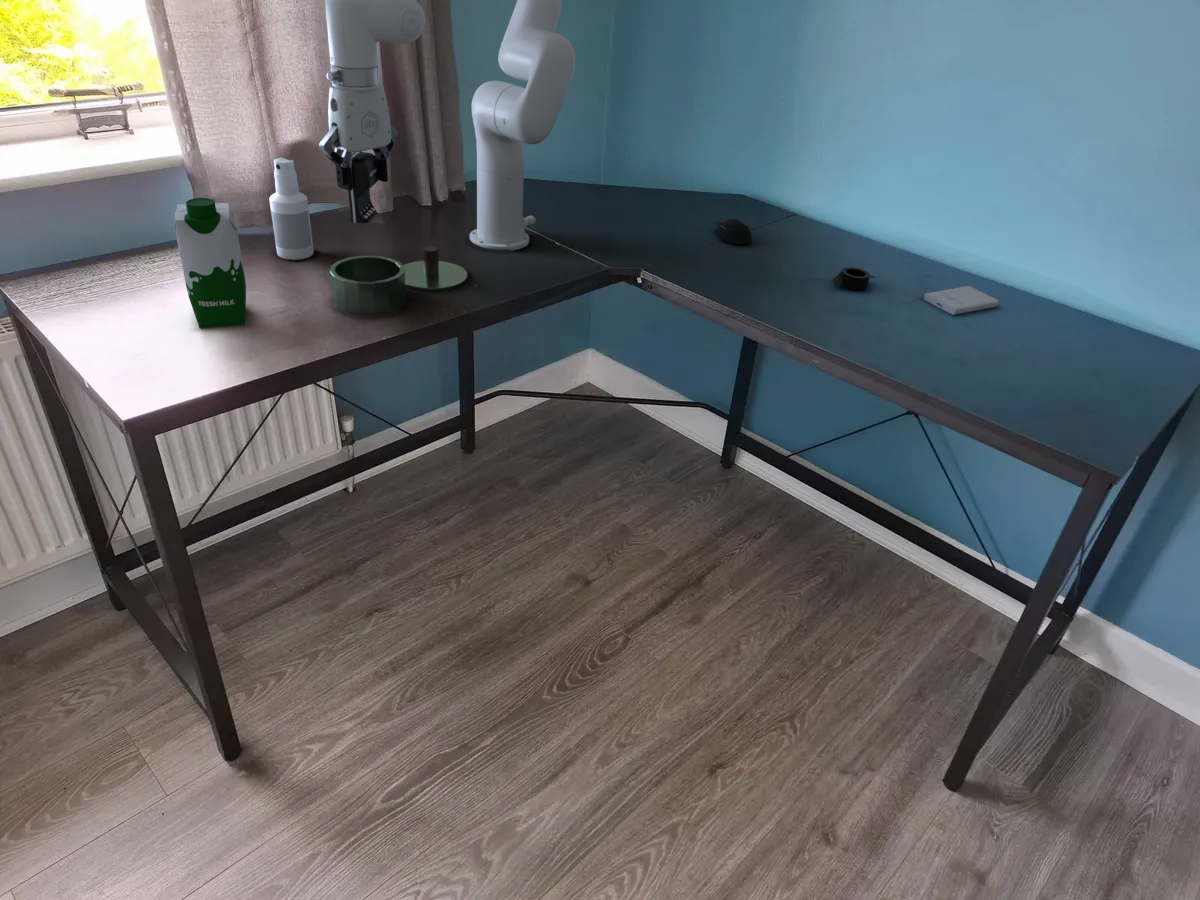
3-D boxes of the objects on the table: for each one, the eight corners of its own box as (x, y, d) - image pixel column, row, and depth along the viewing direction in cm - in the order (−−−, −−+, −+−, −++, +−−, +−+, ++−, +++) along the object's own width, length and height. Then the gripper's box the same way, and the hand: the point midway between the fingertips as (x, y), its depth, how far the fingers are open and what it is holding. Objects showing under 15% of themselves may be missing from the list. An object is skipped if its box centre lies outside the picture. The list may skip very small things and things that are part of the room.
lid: (431, 261, 166) (430, 230, 163) (481, 280, 160) (482, 249, 157) (380, 279, 157) (377, 247, 153) (431, 300, 151) (430, 267, 147)
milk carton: (193, 331, 134) (167, 208, 123) (194, 308, 141) (170, 189, 129) (251, 327, 136) (231, 206, 125) (250, 304, 143) (231, 187, 132)
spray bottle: (269, 255, 162) (255, 160, 152) (293, 245, 167) (280, 153, 157) (298, 263, 160) (286, 167, 150) (321, 252, 165) (310, 159, 155)
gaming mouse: (732, 224, 200) (735, 207, 198) (754, 246, 188) (758, 229, 186) (707, 224, 199) (710, 207, 196) (728, 246, 187) (731, 229, 185)
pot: (373, 282, 155) (370, 250, 151) (420, 302, 149) (419, 269, 146) (318, 302, 146) (314, 268, 143) (367, 324, 141) (364, 289, 137)
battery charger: (370, 226, 149) (366, 160, 142) (349, 224, 149) (344, 158, 142) (382, 214, 154) (378, 150, 148) (362, 211, 154) (357, 148, 148)
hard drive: (996, 308, 169) (953, 315, 164) (965, 292, 175) (922, 299, 170) (999, 300, 168) (956, 308, 163) (968, 285, 174) (925, 291, 169)
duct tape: (825, 276, 176) (828, 263, 175) (872, 281, 176) (875, 268, 175) (831, 290, 170) (835, 277, 168) (880, 295, 170) (884, 282, 168)
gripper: (327, 86, 130) (338, 199, 140) (410, 75, 143) (414, 180, 152) (296, 77, 134) (308, 188, 143) (379, 68, 146) (386, 170, 156)
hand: (363, 183), depth 148 cm, fingers closed on battery charger, 7 cm apart
